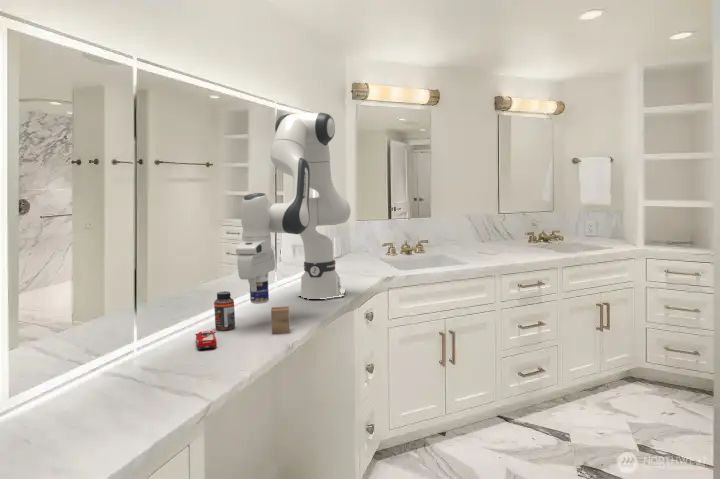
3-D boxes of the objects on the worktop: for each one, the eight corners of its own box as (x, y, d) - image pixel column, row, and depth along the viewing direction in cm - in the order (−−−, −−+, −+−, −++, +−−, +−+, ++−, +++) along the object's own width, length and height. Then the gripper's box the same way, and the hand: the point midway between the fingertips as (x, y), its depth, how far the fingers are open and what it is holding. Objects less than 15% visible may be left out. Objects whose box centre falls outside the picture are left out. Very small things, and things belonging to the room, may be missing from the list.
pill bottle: (256, 304, 166) (254, 272, 165) (247, 302, 170) (245, 271, 169) (272, 301, 169) (270, 270, 168) (262, 299, 174) (261, 268, 173)
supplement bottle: (211, 329, 165) (209, 292, 164) (228, 325, 170) (226, 289, 169) (222, 332, 161) (220, 295, 160) (239, 328, 166) (237, 291, 165)
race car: (195, 340, 154) (194, 326, 154) (215, 338, 156) (214, 324, 155) (196, 352, 142) (195, 337, 141) (217, 350, 143) (216, 335, 143)
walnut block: (272, 330, 162) (271, 307, 161) (289, 329, 163) (288, 306, 162) (272, 334, 157) (271, 310, 157) (289, 333, 158) (288, 309, 157)
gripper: (261, 242, 179) (263, 283, 180) (232, 249, 159) (235, 295, 160) (278, 241, 177) (280, 283, 178) (252, 249, 157) (255, 295, 159)
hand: (259, 289), depth 169 cm, fingers closed on pill bottle, 6 cm apart
